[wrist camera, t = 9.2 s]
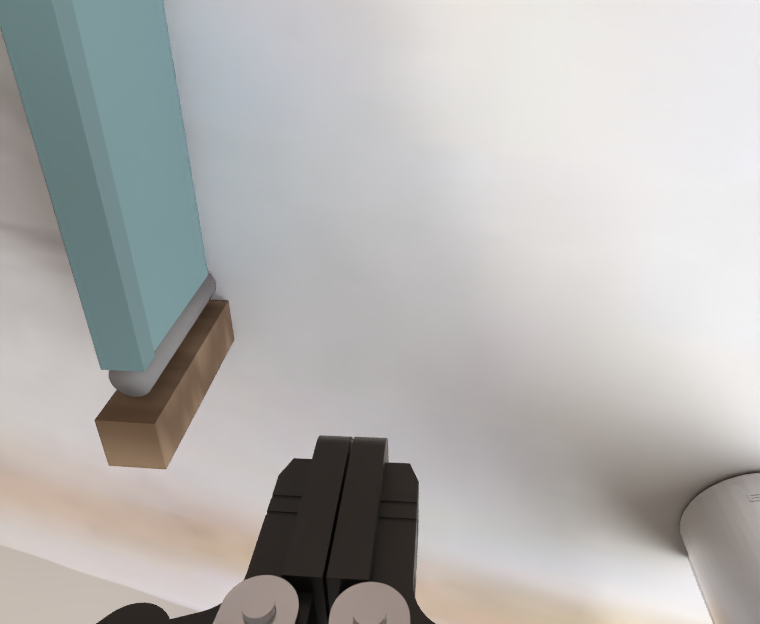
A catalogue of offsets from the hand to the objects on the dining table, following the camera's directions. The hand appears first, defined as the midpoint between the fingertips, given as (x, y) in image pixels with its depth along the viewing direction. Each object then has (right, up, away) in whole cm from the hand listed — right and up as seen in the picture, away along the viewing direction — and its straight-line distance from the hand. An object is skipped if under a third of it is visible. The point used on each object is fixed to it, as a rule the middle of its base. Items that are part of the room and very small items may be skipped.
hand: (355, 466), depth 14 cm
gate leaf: (-10, +12, +18) cm, 24 cm away
